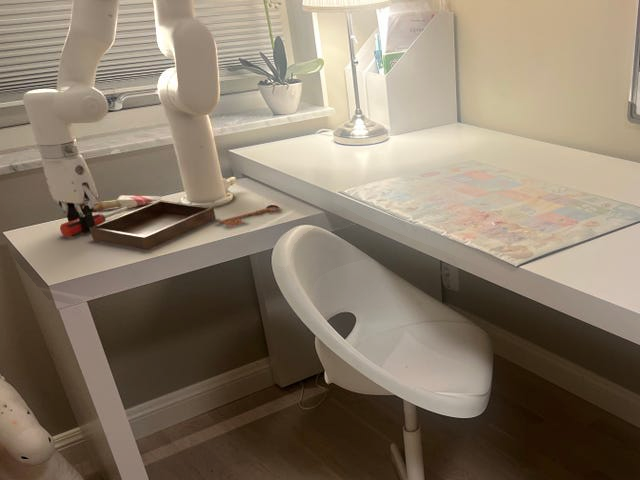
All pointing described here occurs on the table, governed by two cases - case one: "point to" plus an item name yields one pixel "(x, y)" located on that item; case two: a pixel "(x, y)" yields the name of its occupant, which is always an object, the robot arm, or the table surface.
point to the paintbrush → (126, 202)
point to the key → (237, 218)
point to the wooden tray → (152, 224)
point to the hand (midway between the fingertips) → (84, 230)
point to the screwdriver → (75, 227)
